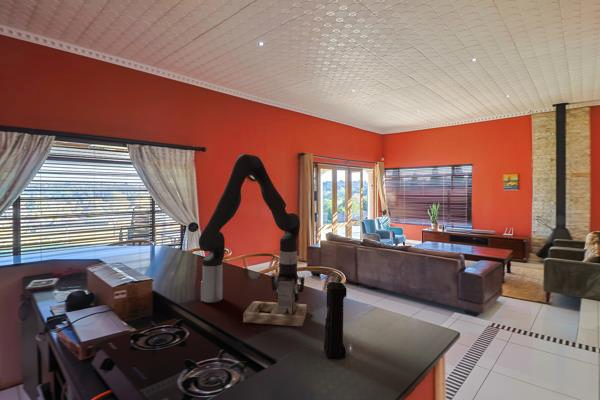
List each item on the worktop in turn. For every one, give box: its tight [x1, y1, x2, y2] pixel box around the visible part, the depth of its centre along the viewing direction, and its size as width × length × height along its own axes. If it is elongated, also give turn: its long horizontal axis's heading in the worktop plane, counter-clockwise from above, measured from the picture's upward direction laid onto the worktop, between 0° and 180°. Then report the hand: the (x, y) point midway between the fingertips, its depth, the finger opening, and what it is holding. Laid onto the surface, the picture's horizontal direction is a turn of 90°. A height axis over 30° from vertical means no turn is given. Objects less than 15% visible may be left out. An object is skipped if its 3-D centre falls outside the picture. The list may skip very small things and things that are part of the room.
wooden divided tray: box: [242, 300, 308, 327], centre depth 128 cm, size 24×14×4 cm, turn 82°
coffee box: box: [277, 277, 298, 315], centre depth 127 cm, size 9×6×16 cm
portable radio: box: [323, 279, 347, 360], centre depth 99 cm, size 8×6×25 cm
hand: (287, 301), depth 127 cm, fingers closed on coffee box, 6 cm apart
